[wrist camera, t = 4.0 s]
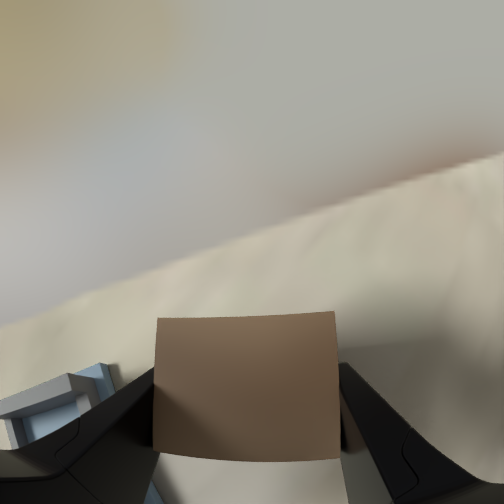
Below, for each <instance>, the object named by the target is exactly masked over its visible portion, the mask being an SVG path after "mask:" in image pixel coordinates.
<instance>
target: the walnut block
mask: <svg viewBox="0 0 504 504" xmlns="http://www.w3.org/2000/svg"><path fill="white" fill-rule="evenodd" d="M153 451H156V452H162V453H168V454H174V455H181V456H188V457H196V458H205V459H216V460H229V461H249V462H291V461H311V460H324V459H335V458H340V400H339V369H338V352H337V337H336V324H335V312H334V311H329V312H316V313H302V314H287V315H269V316H246V317H212V318H158V320H157V333H156V347H155V364H154V399H153Z"/></svg>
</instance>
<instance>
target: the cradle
mask: <svg viewBox="0 0 504 504" xmlns="http://www.w3.org/2000/svg"><path fill="white" fill-rule="evenodd" d="M114 393H116V392H115V389H114V386H113V383H112V380H111V377H110V373H109V370H108V367H107V364H103V363H98V364H95V365H93V366H91V367H88V368H86V369H84V370H81V371H79V372H77V373H74V374H70V373H66V374H63V375H61V376H59V377H56V378H54V379H51V380H49V381H47V382H44V383H42V384H39V385H37V386H34V387H32V388H30V389H27V390H25V391H22V392H20V393H17V394H15V395H12V396H10V397H7V398H4V399H2V400H0V419H3V420H4V421H5V425H6V429H7V433H8V436H9V440H10V443H11V447H12V450H13V449H17V448H20V447H22V446H25V445H27V444H29V443H31V442H33V441H35V440H37V439H39V438H41V437H44V436H46V435H48V434H50V433H51V432H53V431H55V430H57V429H59V428H61V427H62V426H64V425H66V424H68V423H69V422H71V421H72V420H74V419H76V418H77V417H80V415H82V414H84V413H85V412H87V411H88V410H90V409H91V408H93V407H94V406H96V405H98V404H99V403H101V402H102V401H104V400H105V399H107V398H108V397H110V396H111V395H113V394H114ZM144 504H164V503H163V501H162V499H161V497H160V495H159V494H158V492H157V490H156V488H155V486H154V484H153V482H152V480H151V482H150V485H149V488H148V491H147V495H146V498H145V501H144Z"/></svg>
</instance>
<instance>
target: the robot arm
mask: <svg viewBox="0 0 504 504" xmlns="http://www.w3.org/2000/svg"><path fill="white" fill-rule="evenodd" d="M338 369H339V400H340V459H341V464H342V469H343V474H344V480H345V485H346V491H347V496H348V502H349V504H504V484H499V483H490V482H486V481H483V480H480V479H478V478H476V477H475V476H473V475H472V474H470V473H469V472H467V471H466V470H464V469H463V468H462V467H460V466H459V465H457V464H456V463H455V462H453V461H452V460H450V459H449V458H448V457H446V456H445V455H444V454H442V453H441V452H440V451H439V450H437V449H436V448H435V447H433V446H432V445H431V444H430V443H429V442H428V441H427V440H425V439H424V438H423V437H422V436H421V435H420V434H419V433H418V432H417V431H416V430H415V429H414V428H413V427H412V428H411V425H410V424H409V423H408V422H407V421H406V420H405V419H404V418H403V417H402V416H400V415H399V414H398V413H397V412H396V411H395V410H394V409H393V408H392V407H391V406H390V405H389V404H388V403H387V402H386V401H385V400H384V399H383V398H382V397H381V396H380V395H379V394H378V393H377V392H376V391H375V390H374V389H373V388H372V387H371V386H370V385H369V384H368V383H367V382H366V381H365V380H364V379H363V378H362V377H361V376H360V375H359V374H358V373H357V372H356V371H355V370H354V369H353V368H352V367H351V366H350V365H349V364H348V363H347V362H341V363H338ZM153 399H154V367H153V368H151V369H150V370H148V371H147V372H146V373H144V374H143V375H141V376H140V377H138V378H137V379H135V380H134V381H132V382H131V383H129V384H128V385H126V386H125V387H123V388H122V389H120V390H119V391H117V392H116V393H114V394H113V395H111V396H110V397H108V398H107V399H105V400H104V401H102V402H101V403H99V404H98V405H96V406H94V407H93V408H91V409H90V410H88V411H87V412H85V413H84V414H82V415H80V417H77V418H76V419H74V420H72V421H71V422H69V423H68V424H66V425H64V426H62V427H61V428H59V429H57V430H55V431H53V432H51V433H50V434H48V435H46V436H44V437H41V438H39V439H37V440H35V441H33V442H31V443H29V444H27V445H25V446H22V447H20V448H17V449H13V450H0V504H144V501H145V498H146V495H147V491H148V488H149V485H150V482H151V479H152V476H153V473H154V470H155V467H156V464H157V461H158V458H159V455H160V452H156V451H153Z"/></svg>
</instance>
